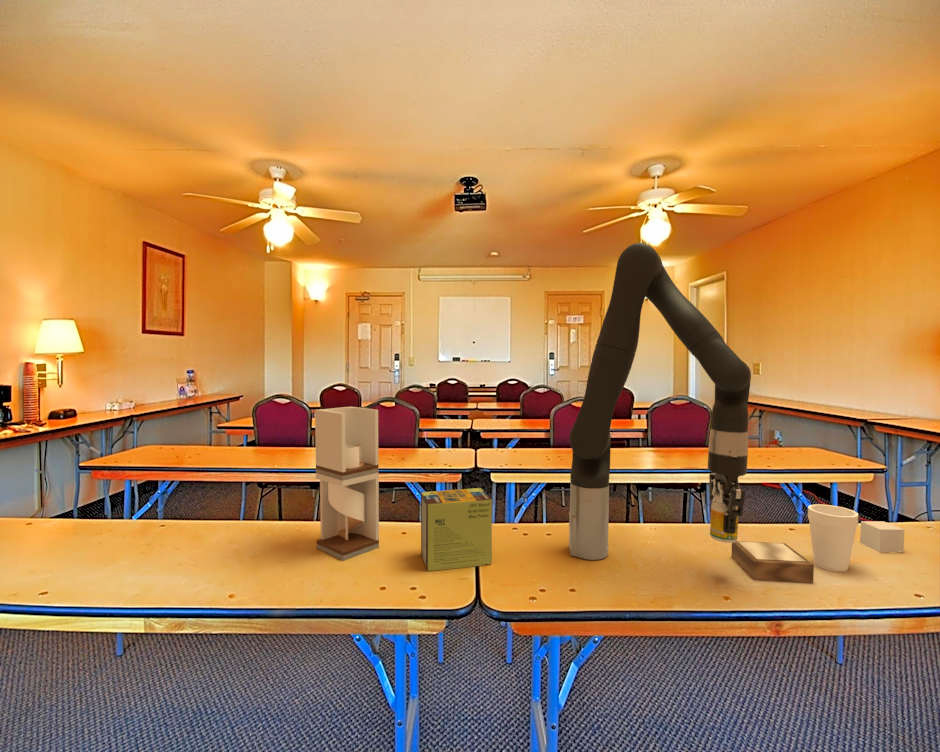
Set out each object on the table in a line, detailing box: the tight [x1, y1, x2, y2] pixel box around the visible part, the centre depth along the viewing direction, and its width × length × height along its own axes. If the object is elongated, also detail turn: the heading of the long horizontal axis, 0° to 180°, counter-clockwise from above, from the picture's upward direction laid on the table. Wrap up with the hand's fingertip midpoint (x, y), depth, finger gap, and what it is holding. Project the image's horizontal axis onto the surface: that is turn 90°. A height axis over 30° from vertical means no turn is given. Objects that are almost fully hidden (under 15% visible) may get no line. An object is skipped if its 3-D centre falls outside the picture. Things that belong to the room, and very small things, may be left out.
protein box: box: [420, 487, 493, 572], centre depth 117 cm, size 10×15×16 cm
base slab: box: [730, 540, 815, 584], centre depth 111 cm, size 12×12×4 cm
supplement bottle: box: [709, 493, 739, 544], centre depth 107 cm, size 5×5×10 cm
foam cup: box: [807, 503, 859, 573], centre depth 113 cm, size 10×9×13 cm
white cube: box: [859, 520, 905, 553], centre depth 124 cm, size 6×6×6 cm
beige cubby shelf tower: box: [314, 406, 380, 562], centre depth 123 cm, size 11×11×35 cm
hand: (723, 527), depth 107 cm, fingers closed on supplement bottle, 5 cm apart
